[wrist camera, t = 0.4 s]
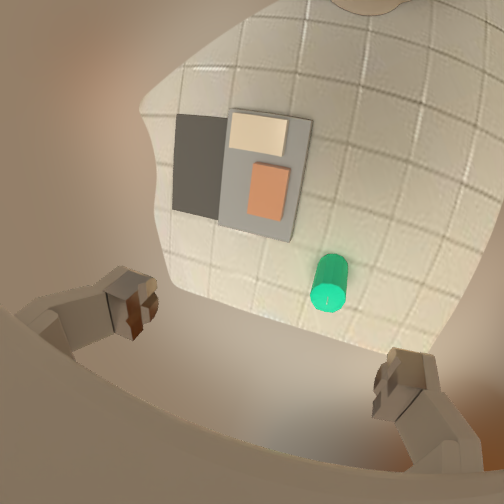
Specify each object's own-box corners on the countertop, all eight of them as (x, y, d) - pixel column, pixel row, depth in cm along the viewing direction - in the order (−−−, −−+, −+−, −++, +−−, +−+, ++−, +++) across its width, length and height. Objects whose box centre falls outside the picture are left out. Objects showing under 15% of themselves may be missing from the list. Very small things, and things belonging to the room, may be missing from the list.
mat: (177, 114, 52) (176, 114, 52) (230, 118, 50) (229, 118, 49) (173, 208, 62) (172, 209, 62) (220, 219, 60) (219, 220, 59)
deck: (234, 108, 49) (229, 108, 47) (313, 120, 46) (311, 120, 44) (223, 220, 59) (217, 225, 57) (291, 237, 56) (289, 242, 54)
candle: (320, 250, 56) (311, 284, 46) (351, 256, 54) (349, 292, 44) (315, 277, 59) (305, 314, 49) (344, 283, 57) (340, 321, 47)
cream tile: (233, 146, 49) (228, 147, 48) (236, 112, 46) (232, 112, 45) (284, 154, 48) (281, 156, 46) (289, 119, 45) (287, 120, 43)
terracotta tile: (256, 161, 49) (253, 163, 48) (291, 168, 48) (288, 170, 46) (250, 210, 54) (246, 213, 52) (282, 217, 53) (280, 221, 51)
